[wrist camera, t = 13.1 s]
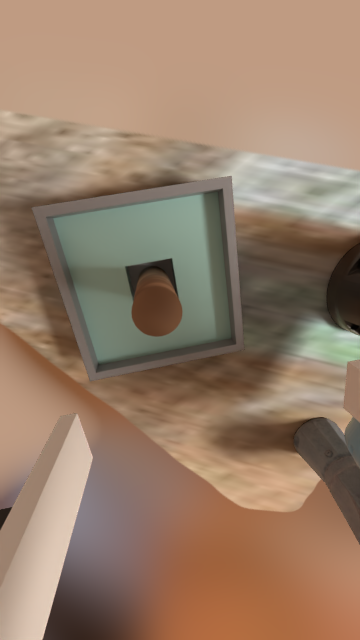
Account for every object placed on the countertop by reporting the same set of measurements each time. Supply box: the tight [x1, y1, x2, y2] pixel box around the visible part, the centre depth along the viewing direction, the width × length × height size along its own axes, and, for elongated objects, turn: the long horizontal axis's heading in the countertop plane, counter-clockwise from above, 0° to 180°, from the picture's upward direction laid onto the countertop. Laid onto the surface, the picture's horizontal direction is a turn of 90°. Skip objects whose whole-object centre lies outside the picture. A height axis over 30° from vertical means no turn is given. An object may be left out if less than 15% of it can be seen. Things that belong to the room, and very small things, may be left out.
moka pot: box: [294, 418, 360, 544], centre depth 37 cm, size 10×15×20 cm, turn 60°
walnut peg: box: [131, 266, 183, 337], centre depth 26 cm, size 4×4×14 cm
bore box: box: [31, 176, 245, 381], centre depth 30 cm, size 20×20×6 cm
